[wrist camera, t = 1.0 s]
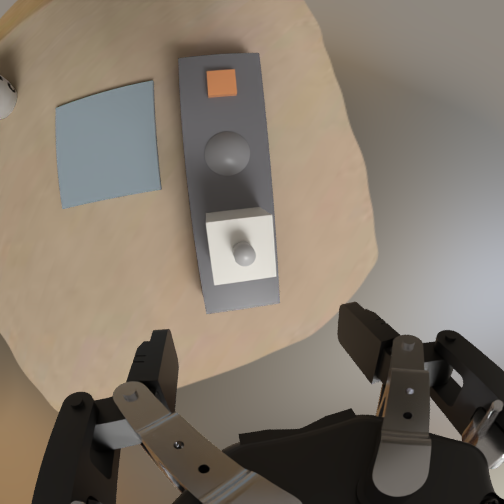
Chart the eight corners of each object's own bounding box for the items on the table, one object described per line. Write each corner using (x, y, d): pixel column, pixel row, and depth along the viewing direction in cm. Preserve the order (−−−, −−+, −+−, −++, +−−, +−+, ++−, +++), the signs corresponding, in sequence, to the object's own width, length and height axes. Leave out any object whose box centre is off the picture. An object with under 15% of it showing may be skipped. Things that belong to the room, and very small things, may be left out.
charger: (205, 210, 31) (205, 226, 22) (256, 205, 31) (276, 217, 22) (212, 259, 32) (215, 292, 23) (260, 253, 33) (280, 282, 24)
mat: (57, 108, 25) (55, 108, 25) (153, 81, 27) (152, 80, 26) (64, 208, 29) (62, 209, 29) (161, 189, 31) (160, 189, 30)
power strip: (181, 70, 27) (177, 55, 23) (253, 65, 28) (260, 50, 24) (206, 299, 36) (206, 317, 31) (272, 290, 37) (281, 306, 32)
